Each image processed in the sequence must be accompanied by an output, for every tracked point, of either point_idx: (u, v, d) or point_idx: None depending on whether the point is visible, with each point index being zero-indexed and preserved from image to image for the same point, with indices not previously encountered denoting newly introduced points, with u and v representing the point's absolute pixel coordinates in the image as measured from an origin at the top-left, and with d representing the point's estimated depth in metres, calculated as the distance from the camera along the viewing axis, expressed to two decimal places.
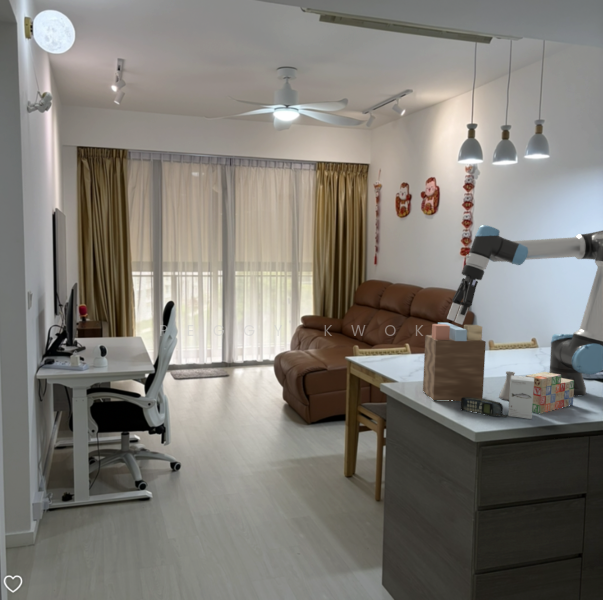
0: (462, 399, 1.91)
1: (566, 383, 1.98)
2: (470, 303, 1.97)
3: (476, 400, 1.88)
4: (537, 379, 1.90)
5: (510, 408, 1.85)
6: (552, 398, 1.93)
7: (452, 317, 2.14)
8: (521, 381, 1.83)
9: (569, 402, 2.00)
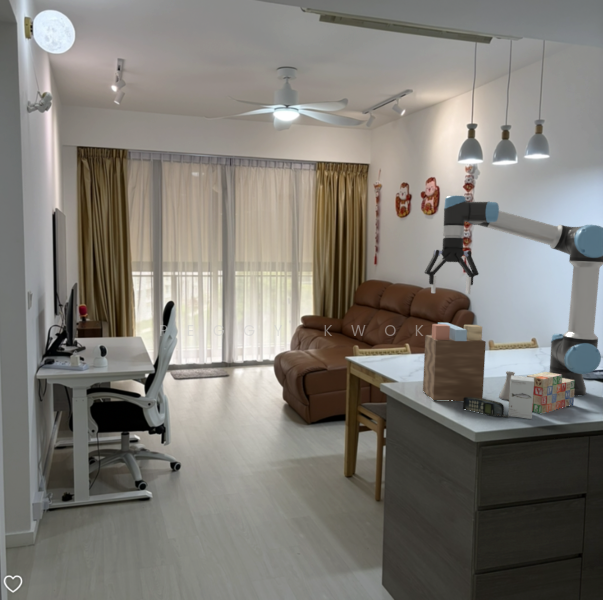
0: (464, 399, 1.91)
1: (567, 383, 1.98)
2: (426, 271, 2.12)
3: (478, 400, 1.88)
4: (538, 379, 1.90)
5: (510, 408, 1.85)
6: (553, 398, 1.94)
7: (467, 291, 2.14)
8: (521, 381, 1.83)
9: (569, 402, 2.01)
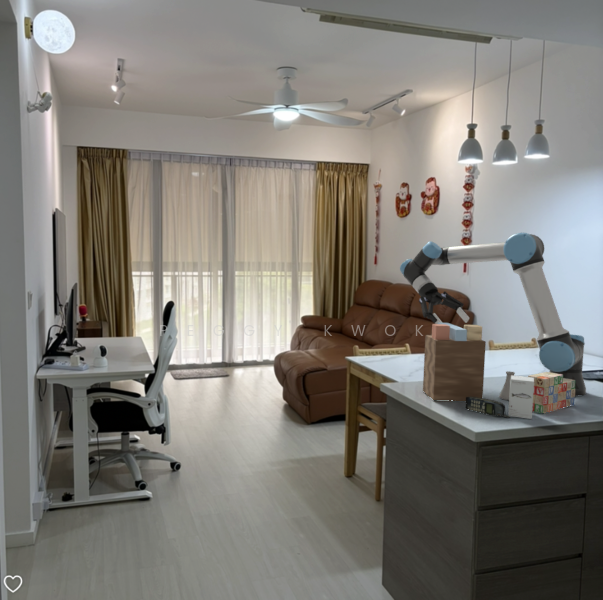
0: (466, 398, 1.92)
1: (568, 383, 1.98)
2: (425, 313, 2.27)
3: (479, 400, 1.89)
4: (540, 379, 1.90)
5: (510, 408, 1.85)
6: (554, 398, 1.94)
7: (465, 318, 2.30)
8: (521, 381, 1.83)
9: (570, 402, 2.01)
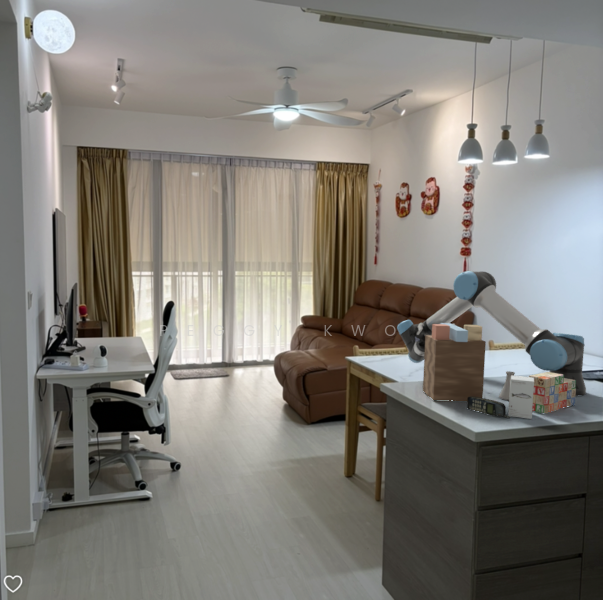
0: (468, 398, 1.92)
1: (568, 383, 1.98)
2: (408, 331, 2.36)
3: (481, 400, 1.89)
4: (541, 379, 1.90)
5: (510, 408, 1.85)
6: (555, 398, 1.94)
7: None
8: (521, 381, 1.83)
9: (571, 402, 2.01)
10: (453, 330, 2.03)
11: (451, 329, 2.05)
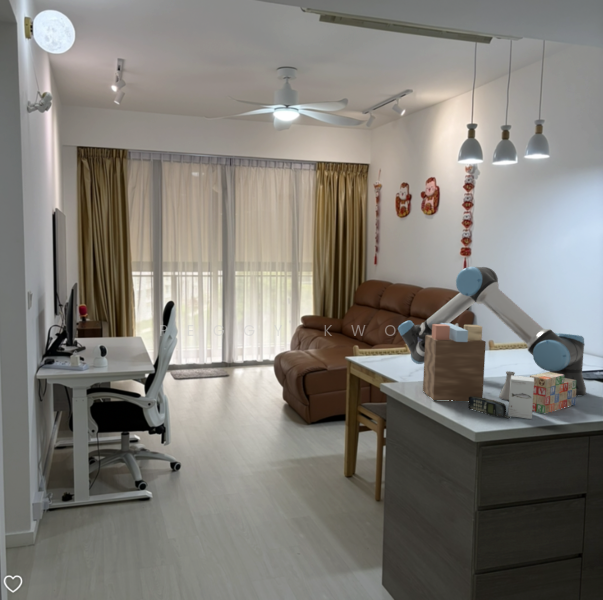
0: (469, 398, 1.93)
1: (569, 383, 1.99)
2: (411, 331, 2.31)
3: (481, 400, 1.89)
4: (542, 379, 1.90)
5: (510, 408, 1.85)
6: (556, 398, 1.94)
7: None
8: (521, 381, 1.83)
9: (571, 401, 2.01)
10: (453, 330, 2.03)
11: (451, 329, 2.05)
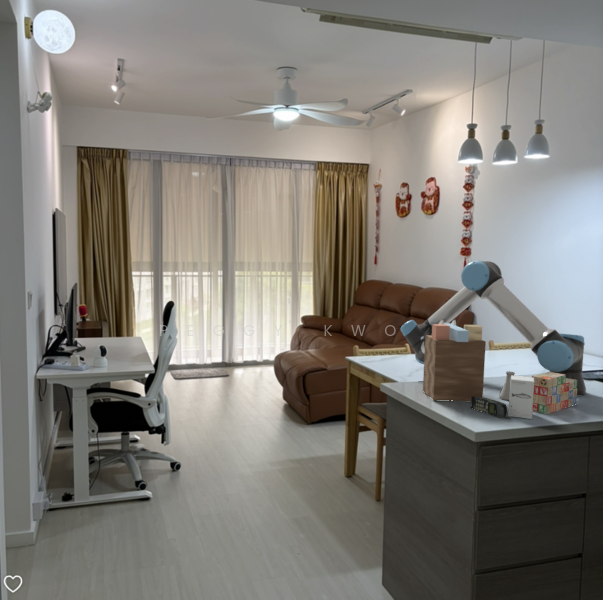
0: (472, 398, 1.93)
1: (570, 383, 1.99)
2: (428, 329, 2.22)
3: (483, 399, 1.89)
4: (543, 379, 1.90)
5: (510, 408, 1.85)
6: (557, 398, 1.94)
7: (453, 323, 2.16)
8: (521, 381, 1.83)
9: (572, 401, 2.01)
10: (454, 330, 2.03)
11: (451, 329, 2.05)
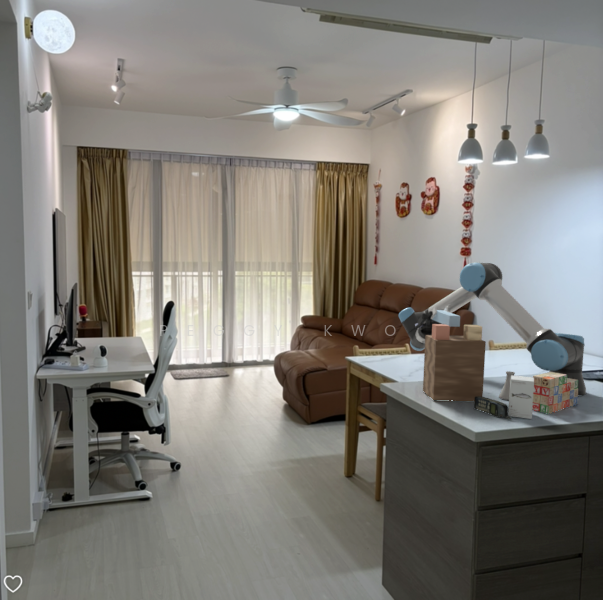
0: (475, 398, 1.93)
1: (571, 383, 1.99)
2: (422, 315, 2.32)
3: (485, 400, 1.89)
4: (545, 379, 1.90)
5: (510, 408, 1.85)
6: (559, 398, 1.94)
7: (445, 310, 2.26)
8: (521, 381, 1.83)
9: (573, 401, 2.01)
10: (446, 315, 2.12)
11: (444, 315, 2.15)
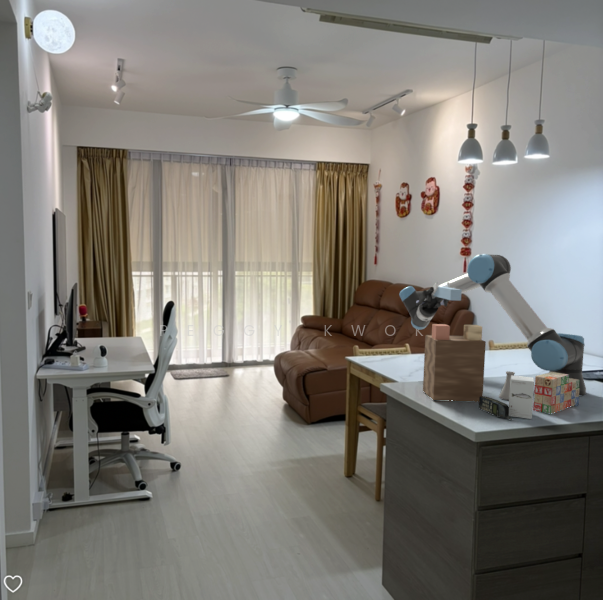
0: (479, 398, 1.94)
1: (573, 383, 1.99)
2: (423, 292, 2.31)
3: (488, 400, 1.89)
4: (548, 379, 1.90)
5: (510, 408, 1.85)
6: (561, 398, 1.94)
7: (446, 285, 2.25)
8: (521, 381, 1.83)
9: (575, 401, 2.02)
10: (447, 290, 2.11)
11: (445, 289, 2.14)
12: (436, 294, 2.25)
